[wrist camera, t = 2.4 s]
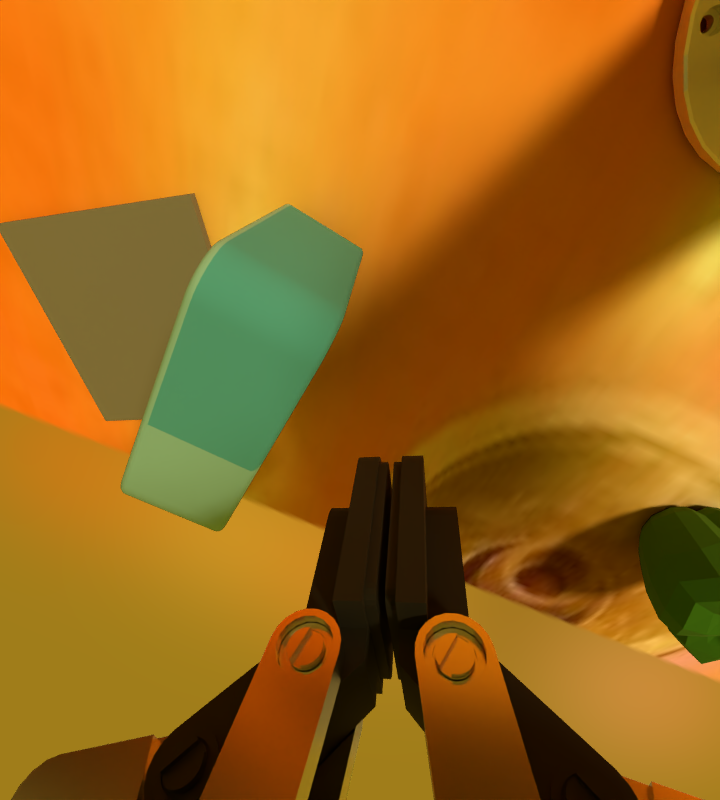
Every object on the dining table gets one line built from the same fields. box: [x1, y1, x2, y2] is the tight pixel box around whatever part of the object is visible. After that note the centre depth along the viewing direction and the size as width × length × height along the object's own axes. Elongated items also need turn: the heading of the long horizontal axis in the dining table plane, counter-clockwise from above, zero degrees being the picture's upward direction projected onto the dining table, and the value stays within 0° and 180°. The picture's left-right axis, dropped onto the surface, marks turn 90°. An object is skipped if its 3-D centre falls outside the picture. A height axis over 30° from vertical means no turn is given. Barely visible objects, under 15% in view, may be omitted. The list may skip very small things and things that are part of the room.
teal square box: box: [121, 204, 363, 531], centre depth 20 cm, size 12×4×12 cm, turn 150°
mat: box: [0, 193, 211, 421], centre depth 26 cm, size 12×14×1 cm
